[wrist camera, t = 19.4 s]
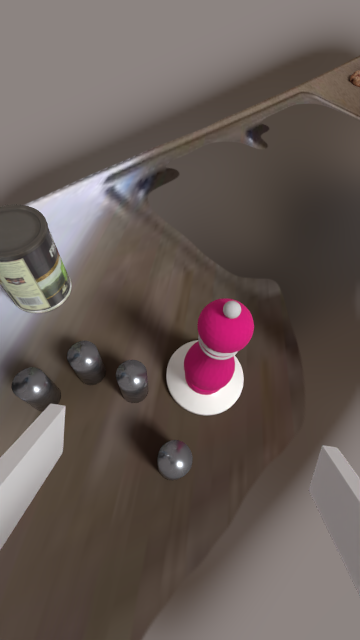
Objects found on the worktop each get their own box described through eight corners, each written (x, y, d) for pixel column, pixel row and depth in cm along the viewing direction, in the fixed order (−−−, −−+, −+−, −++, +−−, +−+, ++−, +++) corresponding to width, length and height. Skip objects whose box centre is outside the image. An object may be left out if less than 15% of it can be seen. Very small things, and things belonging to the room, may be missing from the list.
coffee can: (61, 260, 56) (35, 196, 44) (79, 300, 52) (56, 242, 40) (5, 278, 53) (-40, 215, 41) (19, 322, 49) (-26, 267, 37)
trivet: (155, 355, 48) (155, 353, 47) (222, 333, 50) (223, 331, 50) (182, 428, 42) (183, 426, 41) (255, 399, 45) (257, 397, 44)
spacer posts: (29, 379, 44) (9, 362, 38) (144, 343, 49) (143, 322, 42) (51, 534, 35) (29, 543, 29) (191, 473, 39) (197, 469, 33)
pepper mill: (180, 354, 47) (194, 274, 30) (224, 353, 48) (263, 275, 30) (182, 399, 43) (199, 338, 26) (230, 398, 44) (278, 338, 27)
